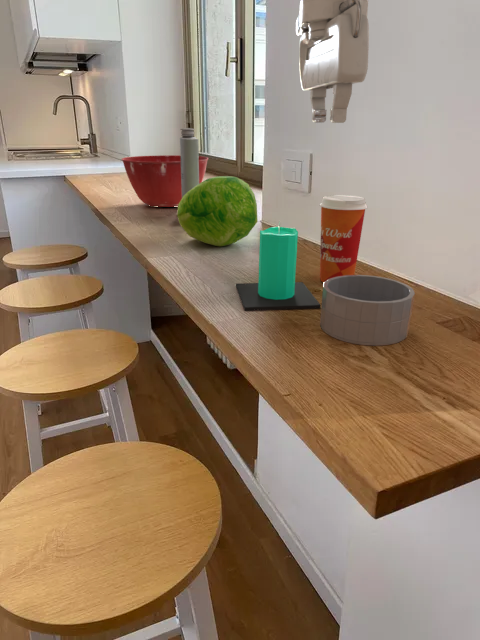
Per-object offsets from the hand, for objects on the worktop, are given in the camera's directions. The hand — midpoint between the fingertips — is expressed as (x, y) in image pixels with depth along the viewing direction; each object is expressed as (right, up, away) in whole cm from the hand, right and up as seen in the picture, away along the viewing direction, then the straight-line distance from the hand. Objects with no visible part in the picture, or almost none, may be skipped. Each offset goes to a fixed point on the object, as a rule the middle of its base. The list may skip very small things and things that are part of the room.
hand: (327, 122), depth 71 cm
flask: (-27, 0, +72) cm, 77 cm away
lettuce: (-18, -11, +46) cm, 50 cm away
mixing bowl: (-37, +11, +98) cm, 105 cm away
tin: (+5, -29, 0) cm, 30 cm away
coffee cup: (+5, -21, +20) cm, 30 cm away
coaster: (-7, -24, +11) cm, 28 cm away
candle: (-7, -24, +11) cm, 27 cm away
